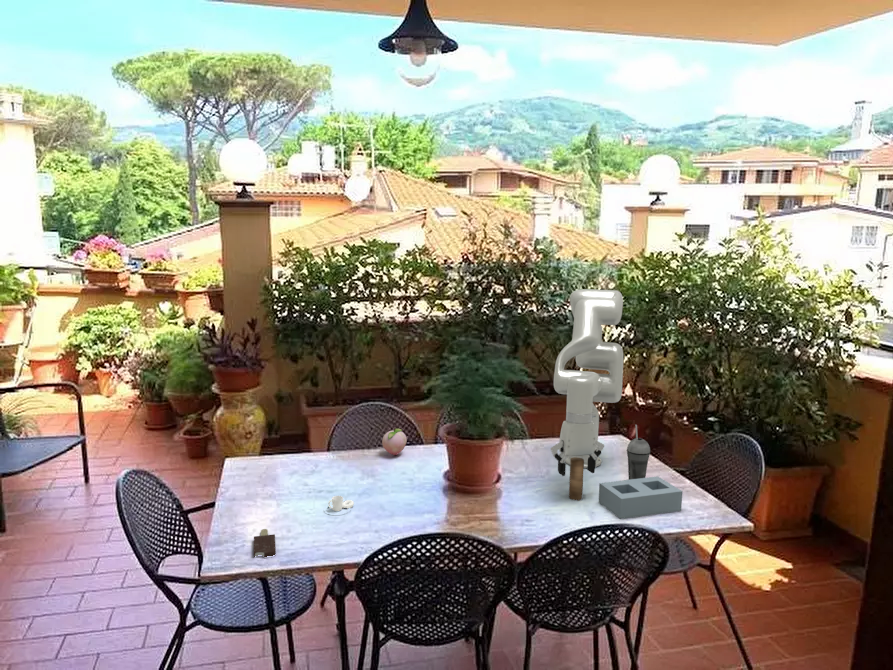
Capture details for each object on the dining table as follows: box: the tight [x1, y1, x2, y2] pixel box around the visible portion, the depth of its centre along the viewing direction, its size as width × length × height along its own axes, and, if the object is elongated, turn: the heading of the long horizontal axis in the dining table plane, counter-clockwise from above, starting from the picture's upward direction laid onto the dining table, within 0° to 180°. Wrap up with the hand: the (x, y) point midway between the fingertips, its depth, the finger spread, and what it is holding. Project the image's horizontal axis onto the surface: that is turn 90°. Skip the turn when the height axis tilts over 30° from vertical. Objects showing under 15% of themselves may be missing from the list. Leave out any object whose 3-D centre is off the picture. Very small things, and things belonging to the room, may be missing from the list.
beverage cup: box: [626, 424, 651, 480], centre depth 210 cm, size 7×7×20 cm
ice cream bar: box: [253, 528, 277, 558], centre depth 171 cm, size 5×2×15 cm
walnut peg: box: [568, 457, 585, 501], centre depth 201 cm, size 4×4×12 cm
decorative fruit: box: [381, 427, 408, 456], centre depth 237 cm, size 9×8×10 cm
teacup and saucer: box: [328, 495, 355, 512], centre depth 192 cm, size 9×8×4 cm
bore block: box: [598, 475, 684, 520], centre depth 196 cm, size 12×20×6 cm, turn 107°
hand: (576, 473), depth 200 cm, fingers open, 9 cm apart
